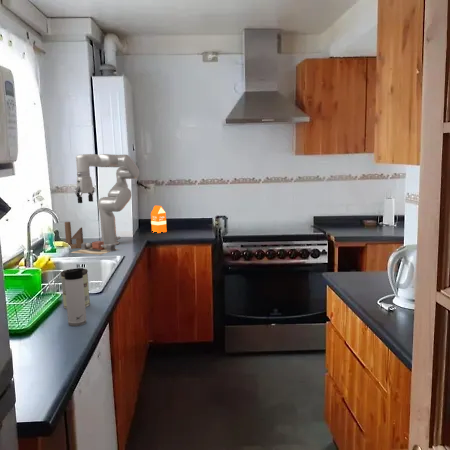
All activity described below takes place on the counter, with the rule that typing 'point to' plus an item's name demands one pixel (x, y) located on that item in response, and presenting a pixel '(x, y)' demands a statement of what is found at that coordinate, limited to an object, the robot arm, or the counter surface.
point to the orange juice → (158, 219)
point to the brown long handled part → (77, 236)
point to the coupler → (98, 245)
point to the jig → (88, 249)
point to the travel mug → (75, 297)
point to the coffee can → (86, 288)
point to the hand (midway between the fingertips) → (85, 202)
